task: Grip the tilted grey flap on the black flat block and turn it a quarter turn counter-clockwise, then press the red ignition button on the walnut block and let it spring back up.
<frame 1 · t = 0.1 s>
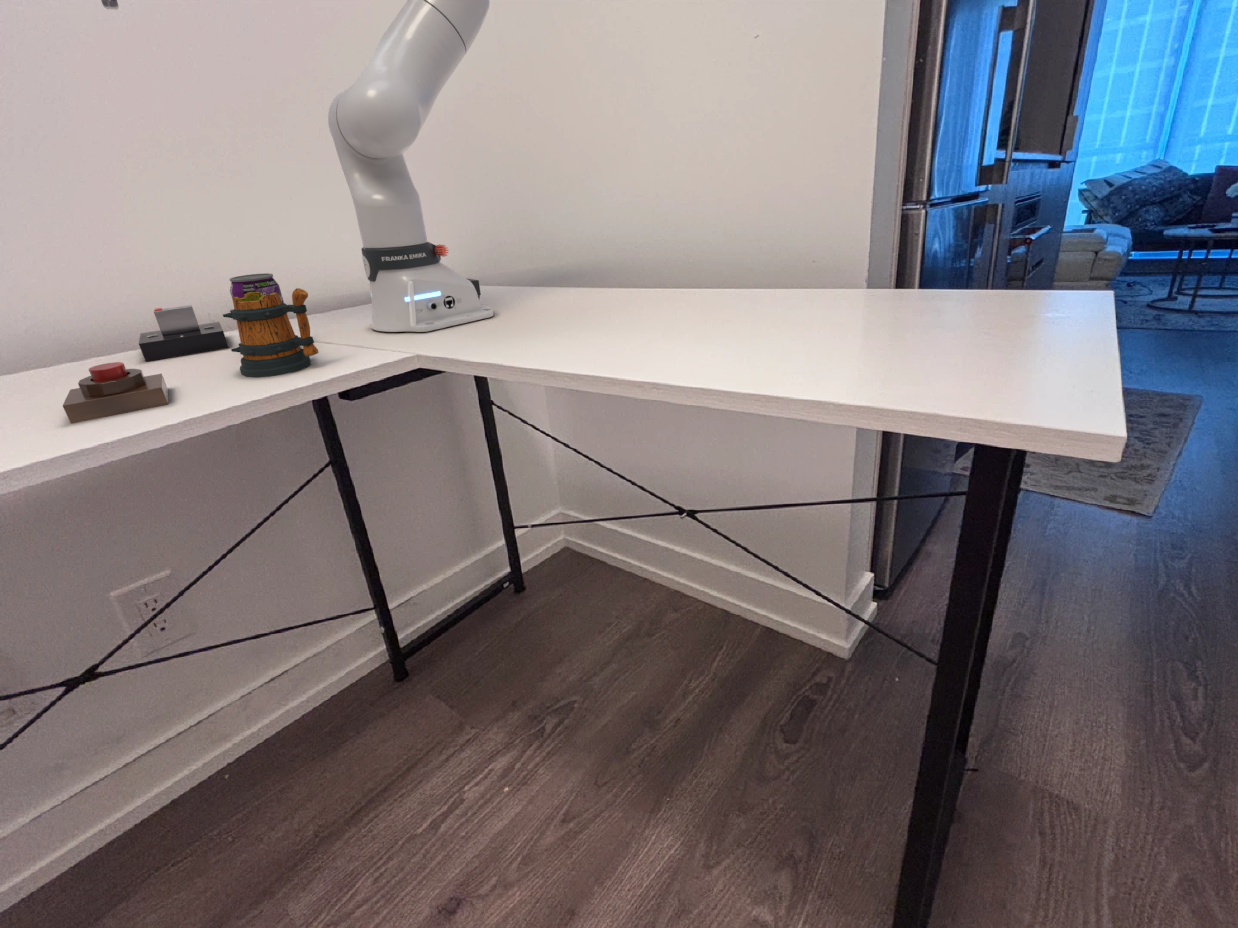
ignition button: (108, 372, 79), point 4 cm above the table, slide at 0.1 cm
mug: (286, 369, 93), on the table
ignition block: (122, 405, 81), on the table
black flat block: (187, 349, 108), on the table
beverage can: (273, 351, 104), on the table
tilted grey flap: (176, 319, 106), point 5 cm above the table, hinge at 0.0°
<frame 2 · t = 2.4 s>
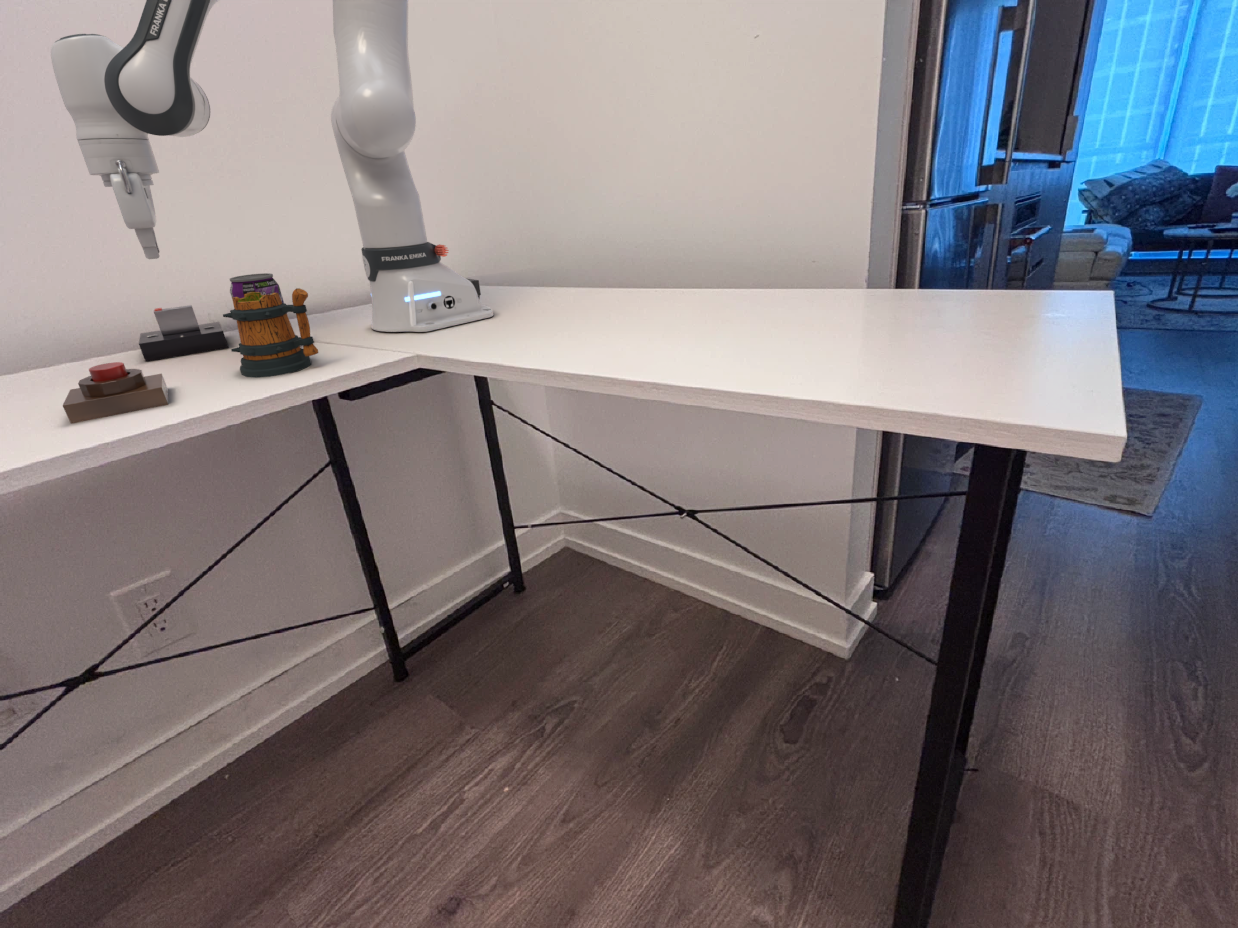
hand: (153, 256, 101), 15 cm above the table, tool pointing down, fingers open, 8 cm apart
nothing on the table moved.
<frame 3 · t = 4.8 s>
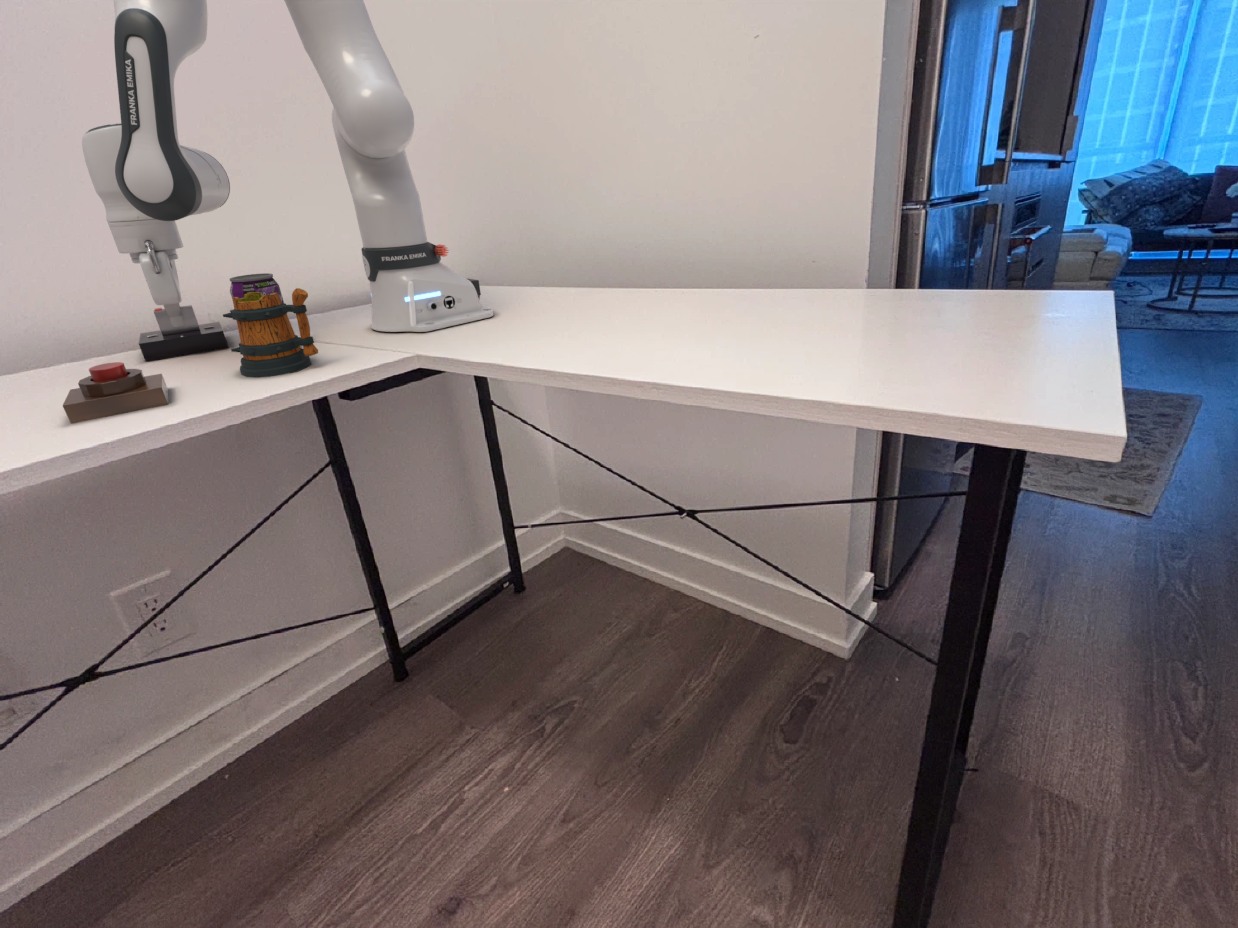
hand: (178, 324, 106), 4 cm above the table, tool pointing down, fingers closed on tilted grey flap, 2 cm apart
tilted grey flap: (176, 319, 106), point 5 cm above the table, hinge at 0.0°, touching gripper
everything else where it was.
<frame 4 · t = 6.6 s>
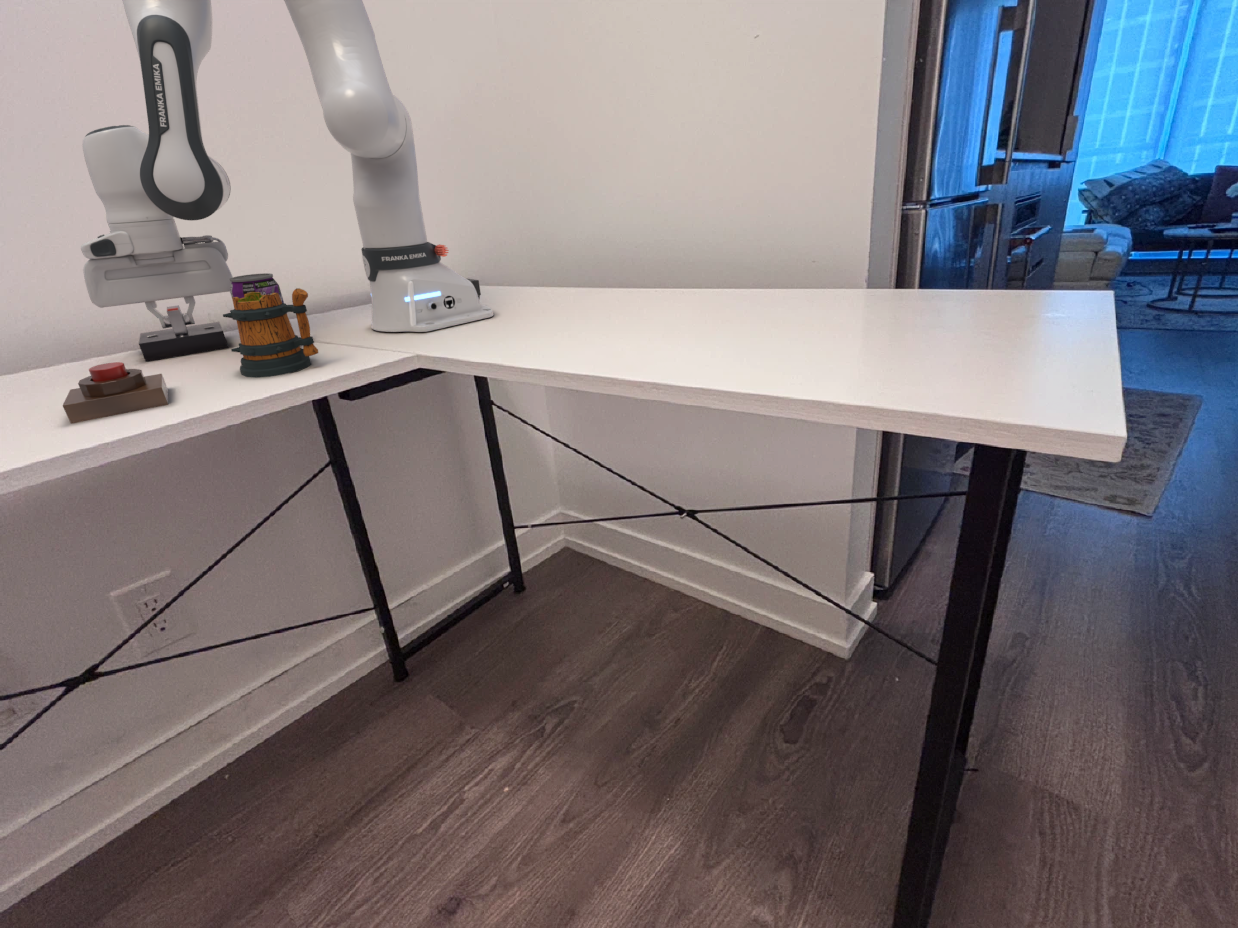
hand: (179, 325, 106), 4 cm above the table, tool pointing down, fingers closed, pressing on tilted grey flap
tilted grey flap: (176, 319, 106), point 5 cm above the table, hinge at 89.5°, touching gripper
everything else where it was.
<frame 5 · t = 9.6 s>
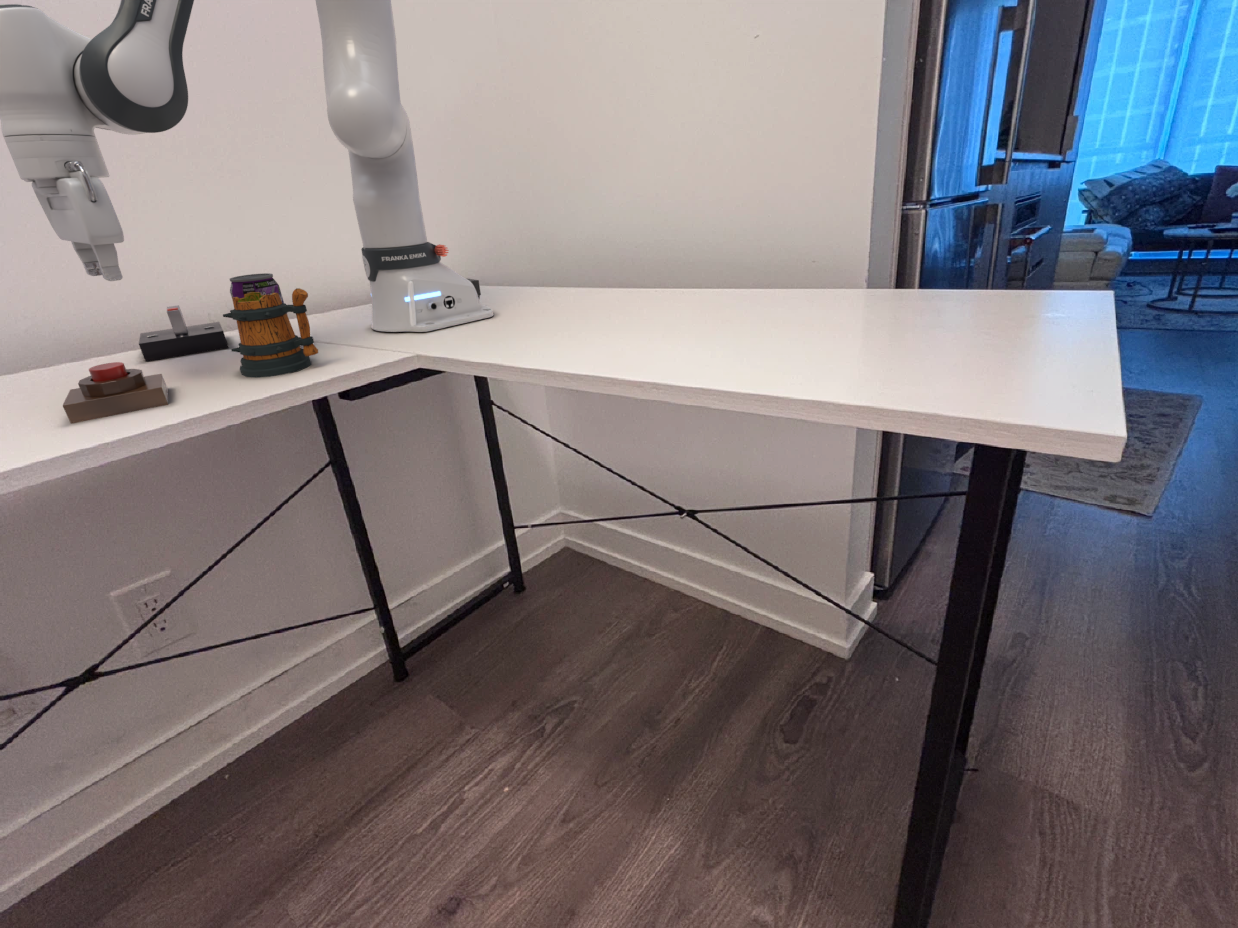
hand: (105, 277, 83), 15 cm above the table, tool pointing down, fingers open, 8 cm apart
tilted grey flap: (176, 319, 106), point 5 cm above the table, hinge at 89.5°
everything else where it was.
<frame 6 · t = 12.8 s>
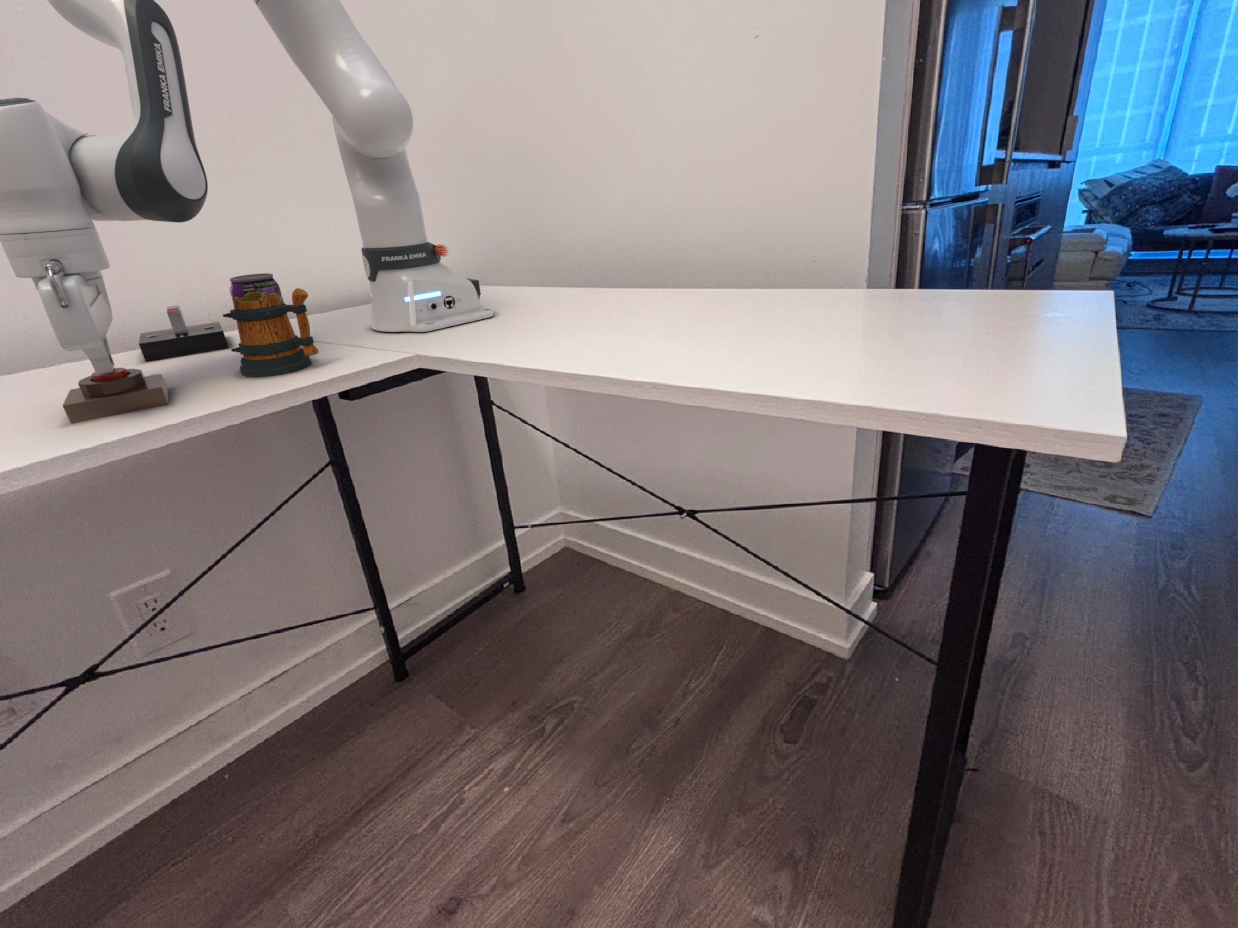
hand: (106, 371, 79), 5 cm above the table, tool pointing down, fingers closed, pressing on ignition button
ignition button: (111, 378, 79), point 4 cm above the table, slide at -0.6 cm, touching gripper
everything else where it was.
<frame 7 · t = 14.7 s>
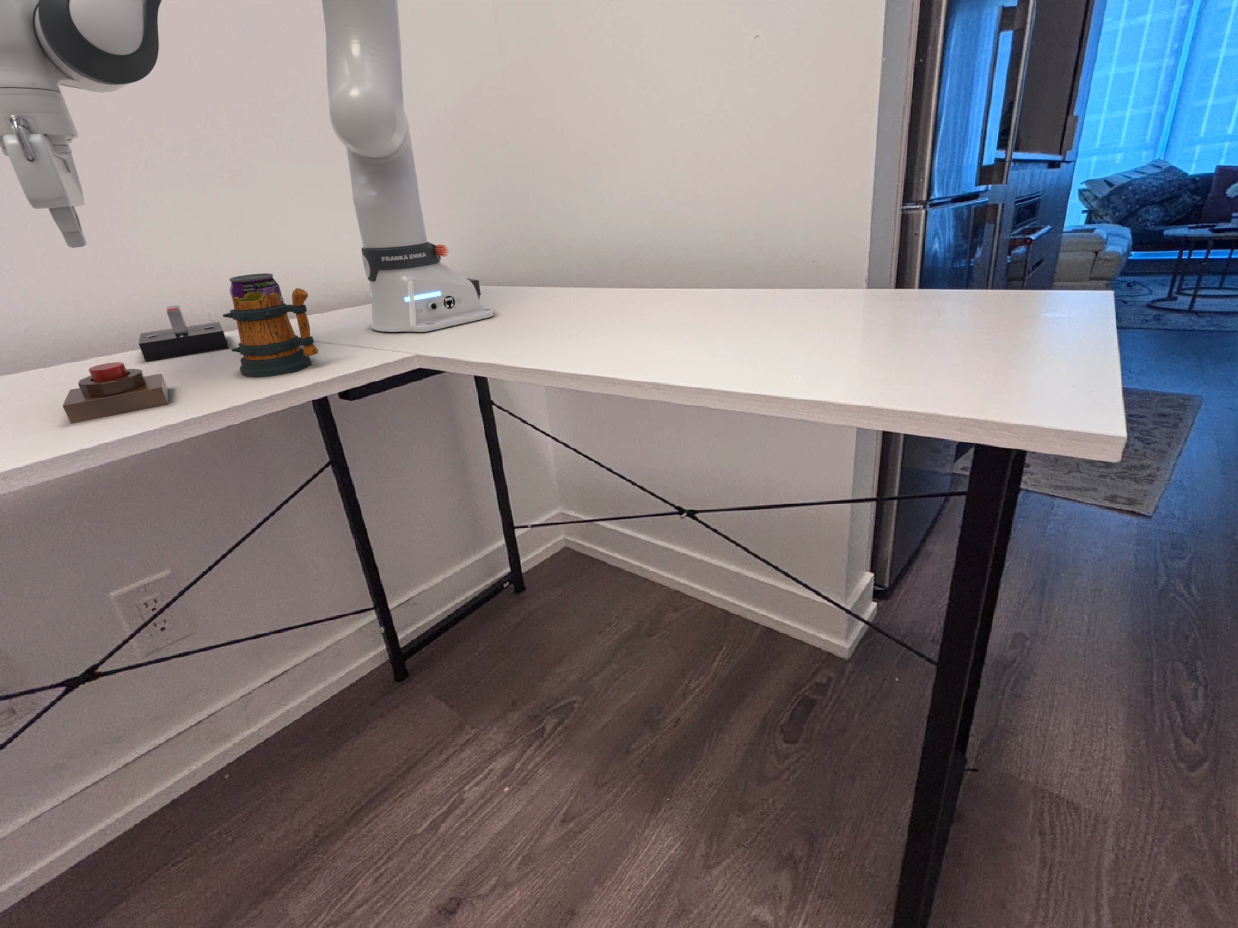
hand: (78, 246, 78), 19 cm above the table, tool pointing down, fingers closed
ignition button: (108, 372, 79), point 4 cm above the table, slide at 0.1 cm
everything else where it was.
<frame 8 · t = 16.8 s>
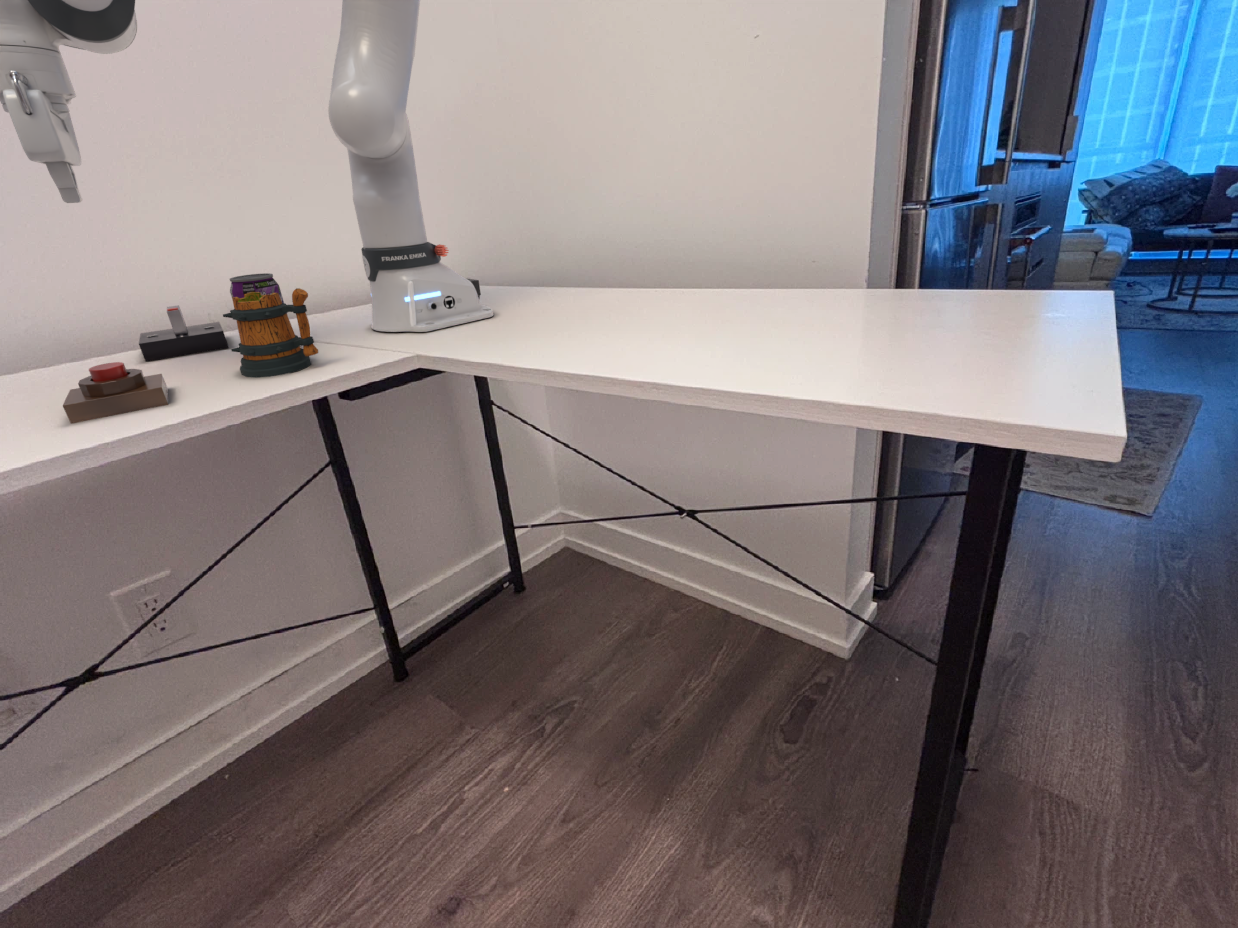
hand: (74, 202, 82), 24 cm above the table, tool pointing down, fingers closed
nothing on the table moved.
at the end: tilted grey flap at +90° (first picture: +0°); ignition button pushed in 0.9 cm at the most during the clip, back to where it started at the end; ignition button slide at 0.1 cm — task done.
